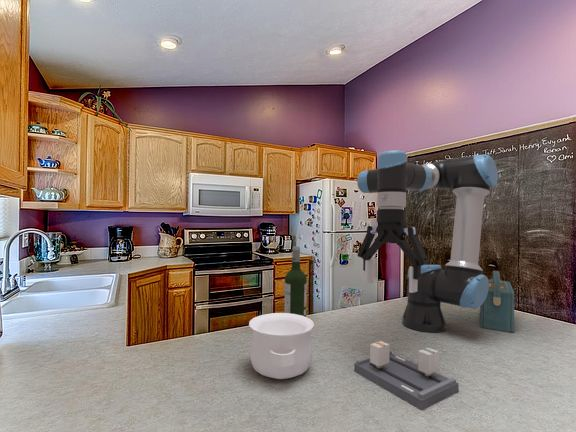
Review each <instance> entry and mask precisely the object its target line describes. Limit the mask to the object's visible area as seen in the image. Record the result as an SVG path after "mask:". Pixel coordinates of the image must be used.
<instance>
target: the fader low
mask: <svg viewBox="0 0 576 432" xmlns="http://www.w3.org/2000/svg"><path fill="white" fill-rule="evenodd" d="M390 346H391V345H390V344H389V343H387V342H384V341H381V340H380V341H376V340H375V341H374V342H373V343H370V345H369V347H370V348H369V349H370V350H369V356H370V362H371V363H373V364H375V365H376V367H377V368H382V367H383V365H384V364H387V363H389V351H391V350H390V349H391V348H390Z"/></svg>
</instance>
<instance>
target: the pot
mask: <svg viewBox="0 0 576 432" xmlns="http://www.w3.org/2000/svg"><path fill="white" fill-rule="evenodd" d="M248 327H249V328H250V330H252V333H251V338H250V346H249V359H250V362H251V366H252V368H253V369H254V370H255V372H257V373H259V374H260V375H261V376H263V377H268V378H271V379H276V380H287V379H292V378H294V377H297V376H300V375H302V374H304V373H305V372H306V371H307V370H308V369H309V367H310V364H311V361H312V357H313V342H312V340H313V339H312V334H311V331H312V330H313V329H314V327H315V323H314V322H313V320H312V319H311V318H309V317H307V316H306V317H304V316H302V315H297V314H291V313H284V312H274V313H273V312H272V313H266V314H260V315H258V316H255V317H253V318H251V319H250V320H249V324H248Z"/></svg>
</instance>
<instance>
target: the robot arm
mask: <svg viewBox="0 0 576 432" xmlns="http://www.w3.org/2000/svg"><path fill="white" fill-rule="evenodd" d="M407 155H408V154H407V153H406V152H405V151H403V150H395V149H393V150H386V151H382V152H381V153H379V155H378V160H377V167H376V169H367V170H363V171H361V172H359V174H358V176H357V180H356V183H357V184H356V185H357V188H358V190H359V191H360V192H361V193H363V194H375V193H377V194H376V195H377V196H376V207H377V208H378V209H377V210H376V223H377V226H375V225H368V226H367V227H366V233H365V236H364V239H363V241H362V242H361V246H360V247H359V250H358V252H357V257H358V258H361V259H362V261H363V263H362V265H363V266H362V270H363V271H364V284H367V285H368V284H373V283H374V260H373V256H374V255H375V254H376V253H377V252H378V250H379V249H380V248H381V247H382V246H383V244H388V243H390V244H396V245H397V246H399V248H400V249H401V251H402V252H403V254H404V255H405V256H406V258H407V259H408V261H409V262H410V263H411V266H409V267H408V270H407V277H406V279H407V303H406V307H405V308H404V309H405V310H404V312H403V315H402V324H403V326H405V328H409V329H411V330H415V331H420V332H423V333H424V332H425V333H440V332H444V331H446V327H447V326H446V320H445V318H444V316H445V315H444V314H443V310H442V307H441V305H442V304H441V303H445V304H448V305H452V306H458V307H461V308H468V309H475V310H476V309H478V308H479V309H480V306H481V305H482V304H483V303H484V301H485V299H486V297H487V294H488V290H489V283H488V282H489V281H488V280H489V278H488V277H487V276H486V275H485V274H483V273H484V272H483V271H484V269H482V267H480V265H479V259H480V258H479V257H480V248H481V247H480V246H481V238H482V237H481V235H482V225H483V213H484V202H485V201H484V200H485V198H486V197H487V196H488V195H489V194H490V190H491V188H493V187H495V186H497V184H498V180H499V175H498V169H497V168H498V167H497V165H496V162H495V160H494V158H493V157H491V155H489V154H473V155H468V156H461V157H455V158H447V159H442V160H438V161H435V162H430V163H423V164H416V163H411V162H408V156H407ZM430 189H436V190H452V193H453V194H454V195H455V196H456V202H455V209H454V211H455V212H454V223H453V232H452V243H451V249H450V250H451V251H450V252H451V253H450V259H449V262H447V263H446V264H445V265H444V269H442V266H441V265H440V264H429V262H430V261H429V259H428V256H427V254H426V252H425V249H424V248H423V246H422V243H421V241H420V239H419V236H418V228H417V227H416V226H408V227H406V221H407V211H406V209H404V208H406V207H407V191H412V192H421V191H422V192H423V191H424V190H430ZM376 234H377V236H376ZM405 234H406V235H407V237H408V239H409V241H410V244H411V246H412V247H411V246H410V244H409V243H408V241H407V239H406V237H405ZM374 238H375V239H374Z"/></svg>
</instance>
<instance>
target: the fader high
mask: <svg viewBox="0 0 576 432" xmlns="http://www.w3.org/2000/svg"><path fill="white" fill-rule="evenodd" d="M417 354H418V355H417V362H418V364H417V365H418V370H420V371H422V372H424V373H425V376H430V375H432V373H434V372H435V373H437V372H438V371H439V367H440V366H439V359H440V357H439V354H440V352H439V350H436V349H433V348H430V347H426V348H425V347H422V349H420V350H417Z"/></svg>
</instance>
